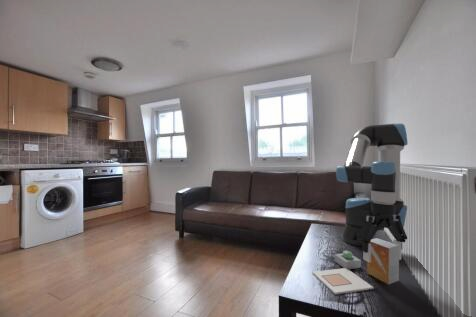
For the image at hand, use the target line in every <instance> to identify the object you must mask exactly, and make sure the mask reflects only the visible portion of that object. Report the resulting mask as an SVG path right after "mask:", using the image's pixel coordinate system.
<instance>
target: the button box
mask: <svg viewBox="0 0 476 317" xmlns="http://www.w3.org/2000/svg"><path fill="white" fill-rule="evenodd" d="M333 260H334V261H333V262H335V263H336V264H338V265H339V266H341V267H342V268H347V269H348V270H351V269H352V270H354V269H361V268H362V260H361V259H359V258H358V257H356V256H355V255H353V254H352V259H349V260H348V259H345V258H343V252H342V253H335V254H334V259H333ZM360 267H361V268H360Z"/></svg>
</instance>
